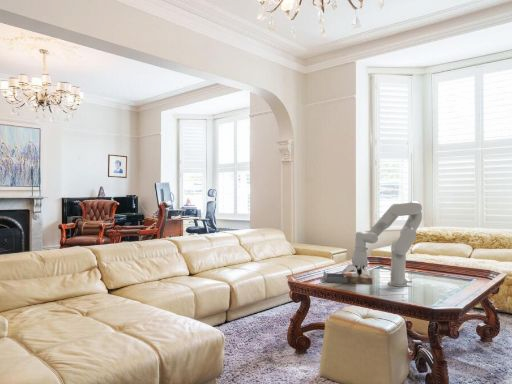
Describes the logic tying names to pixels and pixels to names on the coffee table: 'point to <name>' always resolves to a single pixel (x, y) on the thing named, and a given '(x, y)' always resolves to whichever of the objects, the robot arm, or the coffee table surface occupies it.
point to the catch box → (335, 278)
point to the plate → (360, 279)
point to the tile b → (347, 273)
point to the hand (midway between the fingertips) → (359, 274)
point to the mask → (354, 269)
